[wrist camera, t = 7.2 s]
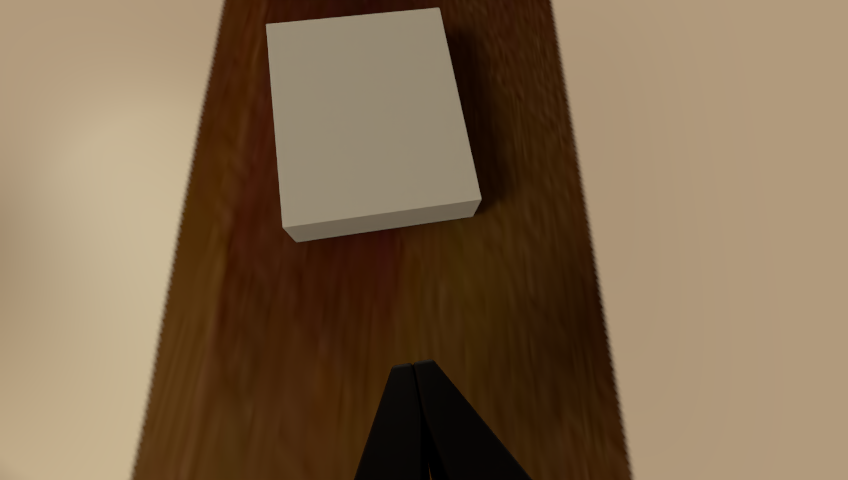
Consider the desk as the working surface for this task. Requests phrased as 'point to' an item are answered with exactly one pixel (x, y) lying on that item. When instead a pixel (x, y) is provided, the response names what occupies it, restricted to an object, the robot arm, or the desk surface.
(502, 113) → the desk surface
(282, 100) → the tile
